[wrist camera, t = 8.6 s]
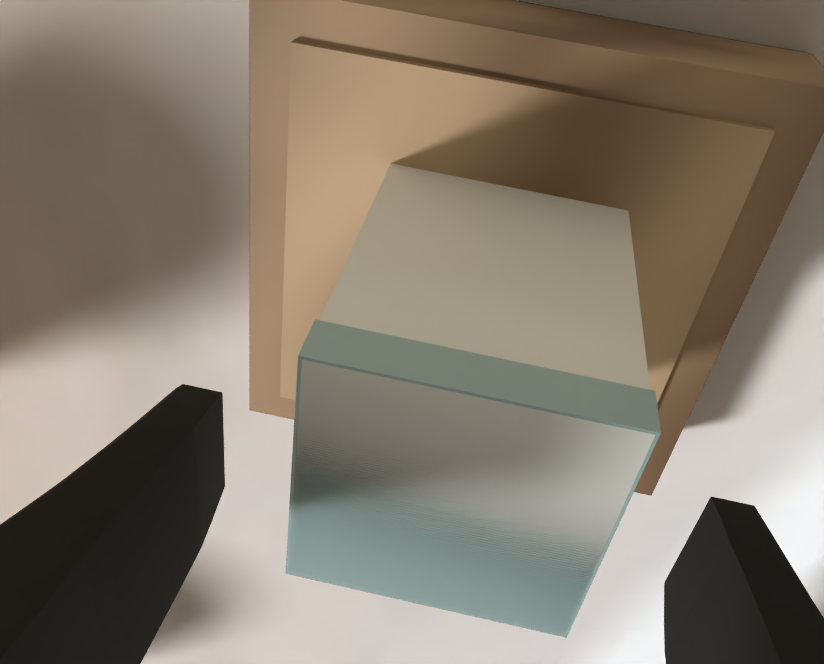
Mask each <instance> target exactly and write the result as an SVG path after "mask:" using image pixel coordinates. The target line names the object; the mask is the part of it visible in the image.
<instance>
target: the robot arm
mask: <svg viewBox="0 0 824 664" xmlns="http://www.w3.org/2000/svg"><path fill="white" fill-rule="evenodd" d="M224 487H225V475H224V437H223V400H222V392H217V391H212V390H208V389H203V388H198V387H194V386H189V385H184V384H182V385H181V386H179V387H177V388H176V389H175V390H173V391H172V392H171V393H170V394H169V395H167V396H166V397H165V398H164V399H163V400H162V401H160V402H159V403H158V404H157V405H156V406H154V407H153V408H152V409H151V410H150V411H149V412H147V413H146V414H145V415H144V416H143V417H141V418H140V419H139V420H138V421H137V422H135V423H134V424H133V425H132V426H131V427H129V428H128V429H127V430H126V431H125V432H123V433H122V434H121V435H120V436H118V437H117V438H116V439H115V440H114V441H112V442H111V443H110V444H109V445H107V446H106V447H105V448H104V449H102V450H101V451H100V452H98V453H97V454H96V455H95V456H93V457H92V458H91V459H89V460H88V461H87V462H86V463H84V464H83V465H82V466H80V467H79V468H78V469H77V470H75V471H74V472H73V473H72V474H70V475H69V476H68V477H66V478H65V479H64V480H62V481H61V482H60V483H58V484H57V485H56V486H54V487H53V488H51V489H50V490H49V491H47V492H46V493H44V494H43V495H42V496H40V497H39V498H37V499H36V500H35V501H33V502H32V503H30V504H29V505H28V506H26V507H25V508H23V509H22V510H20V511H19V512H18V513H16V514H15V515H13V516H12V517H11V518H9V519H8V520H6V521H5V522H3V523H2V524H0V664H140V663H141V661H142V660H143V658H144V656H145V654H146V652H147V650H148V648H149V646H150V644H151V643H152V641H153V639H154V637H155V635H156V633H157V631H158V629H159V627H160V626H161V624H162V622H163V620H164V618H165V616H166V614H167V612H168V610H169V609H170V607H171V605H172V603H173V601H174V599H175V597H176V595H177V593H178V591H179V590H180V588H181V586H182V584H183V582H184V580H185V578H186V576H187V574H188V572H189V570H190V568H191V567H192V565H193V563H194V561H195V559H196V557H197V555H198V553H199V551H200V549H201V547H202V544H203V542H204V539H205V537H206V534H207V532H208V529H209V527H210V524H211V522H212V519H213V516H214V514H215V511H216V508H217V506H218V503H219V500H220V498H221V495H222V492H223V490H224ZM664 635H665V658H666V664H824V618H823V616H822V615H821V613H820V611H819V610H818V608H817V607H816V605H815V604H814V602H813V600H812V599H811V597H810V596H809V594H808V592H807V591H806V589H805V587H804V586H803V584H802V583H801V581H800V579H799V578H798V576H797V575H796V573H795V571H794V570H793V568H792V566H791V565H790V563H789V562H788V560H787V558H786V557H785V555H784V553H783V552H782V550H781V548H780V547H779V545H778V544H777V542H776V540H775V539H774V537H773V535H772V534H771V532H770V531H769V529H768V527H767V526H766V524H765V522H764V521H763V519H762V518H761V516H760V514H759V513H758V511H757V509H756V508H755V506H753V505H748V504H743V503H739V502H734V501H729V500H725V499H720V498H715V497H711V498H710V499H709V501H708V503H707V505H706V507H705V509H704V511H703V512H702V514H701V516H700V518H699V520H698V522H697V524H696V525H695V527H694V529H693V531H692V533H691V535H690V536H689V538H688V540H687V542H686V544H685V546H684V548H683V549H682V551H681V553H680V555H679V557H678V559H677V561H676V562H675V564H674V566H673V568H672V570H671V572H670V573H669V575H668V577H667V579H666V581H665V583H664Z"/></svg>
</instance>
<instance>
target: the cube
mask: <svg viewBox="0 0 824 664" xmlns="http://www.w3.org/2000/svg"><path fill="white" fill-rule="evenodd" d="M660 434H661V430H660V422H659V415H658V407H657V399H656V391H653V390H650V385H649V377H648V368H647V360H646V352H645V343H644V335H643V327H642V318H641V310H640V302H639V294H638V285H637V277H636V269H635V260H634V252H633V244H632V235H631V227H630V219H629V211H628V210H623V209H618V208H613V207H608V206H603V205H598V204H593V203H588V202H583V201H578V200H573V199H568V198H563V197H558V196H553V195H548V194H543V193H538V192H532V191H527V190H522V189H517V188H512V187H507V186H502V185H497V184H492V183H487V182H482V181H477V180H472V179H467V178H462V177H457V176H452V175H447V174H442V173H437V172H432V171H427V170H422V169H417V168H412V167H407V166H402V165H397V164H391V163H390V165H389V168H388V170H387V172H386V174H385V177H384V179H383V181H382V183H381V185H380V188H379V190H378V192H377V194H376V196H375V199H374V201H373V203H372V205H371V208H370V210H369V212H368V214H367V216H366V219H365V221H364V223H363V225H362V227H361V230H360V232H359V234H358V236H357V239H356V241H355V243H354V245H353V247H352V250H351V252H350V254H349V256H348V258H347V261H346V263H345V265H344V267H343V270H342V272H341V274H340V276H339V278H338V281H337V283H336V285H335V287H334V289H333V292H332V294H331V296H330V298H329V300H328V303H327V305H326V307H325V309H324V312H323V314H322V316H321V318H320V320H316V319H315V320H314V322H313V325H312V327H311V329H310V331H309V333H308V335H307V338H306V340H305V342H304V344H303V346H302V348H301V351H300V353H299V355H298V367H297V385H296V402H295V419H294V437H293V454H292V472H291V489H290V507H289V524H288V541H287V559H286V574H290V575H294V576H299V577H303V578H307V579H312V580H316V581H321V582H325V583H329V584H334V585H338V586H343V587H347V588H351V589H356V590H360V591H364V592H369V593H373V594H378V595H382V596H386V597H391V598H395V599H400V600H404V601H408V602H413V603H417V604H421V605H426V606H430V607H435V608H439V609H443V610H448V611H452V612H457V613H461V614H465V615H470V616H474V617H478V618H483V619H487V620H492V621H496V622H500V623H505V624H509V625H513V626H518V627H522V628H527V629H531V630H535V631H540V632H544V633H549V634H553V635H557V636H562V637H566V638H567V635H568V633H569V631H570V629H571V627H572V625H573V622H574V620H575V618H576V616H577V614H578V611H579V609H580V607H581V605H582V603H583V601H584V598H585V596H586V594H587V592H588V590H589V588H590V585H591V583H592V581H593V579H594V577H595V575H596V572H597V570H598V568H599V566H600V564H601V562H602V559H603V557H604V555H605V553H606V551H607V549H608V546H609V544H610V542H611V540H612V538H613V536H614V533H615V531H616V529H617V527H618V525H619V523H620V520H621V518H622V516H623V514H624V512H625V510H626V507H627V505H628V503H629V501H630V499H631V497H632V494H633V492H634V490H635V488H636V486H637V484H638V481H639V479H640V477H641V475H642V473H643V471H644V468H645V466H646V464H647V462H648V460H649V458H650V455H651V453H652V451H653V449H654V447H655V445H656V442H657V440H658V438H659V436H660Z"/></svg>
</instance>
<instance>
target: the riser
mask: <svg viewBox="0 0 824 664" xmlns="http://www.w3.org/2000/svg"><path fill="white" fill-rule="evenodd" d="M823 132H824V67H823V66H822V65H821V64H820V62H819V61H818V60H817V59H816V57H815V56H814V55H813V54H810V53H804V52H798V51H793V50H787V49H782V48H776V47H770V46H765V45H759V44H754V43H748V42H742V41H737V40H731V39H726V38H720V37H714V36H709V35H703V34H698V33H692V32H686V31H681V30H675V29H670V28H664V27H659V26H653V25H647V24H642V23H636V22H631V21H625V20H619V19H614V18H608V17H603V16H597V15H591V14H586V13H580V12H575V11H569V10H563V9H558V8H552V7H547V6H541V5H535V4H530V3H524V2H519V1H513V0H250V410H251V411H256V412H261V413H265V414H270V415H275V416H280V417H284V418H289V419H295V402H296V385H297V367H298V355H299V353H300V351H301V348H302V346H303V344H304V342H305V340H306V338H307V335H308V333H309V331H310V329H311V327H312V325H313V322H314V320H315V319H316V320H320V318H321V316H322V314H323V312H324V309H325V307H326V305H327V303H328V300H329V298H330V296H331V294H332V292H333V289H334V287H335V285H336V283H337V281H338V278H339V276H340V274H341V272H342V270H343V267H344V265H345V263H346V261H347V258H348V256H349V254H350V252H351V250H352V247H353V245H354V243H355V241H356V239H357V236H358V234H359V232H360V230H361V227H362V225H363V223H364V221H365V219H366V216H367V214H368V212H369V210H370V208H371V205H372V203H373V201H374V199H375V196H376V194H377V192H378V190H379V188H380V185H381V183H382V181H383V179H384V177H385V174H386V172H387V170H388V168H389V165H390V163H391V164H397V165H402V166H407V167H412V168H417V169H422V170H427V171H432V172H437V173H442V174H447V175H452V176H457V177H462V178H467V179H472V180H477V181H482V182H487V183H492V184H497V185H502V186H507V187H512V188H517V189H522V190H527V191H532V192H538V193H543V194H548V195H553V196H558V197H563V198H568V199H573V200H578V201H583V202H588V203H593V204H598V205H603V206H608V207H613V208H618V209H623V210H628V211H629V219H630V227H631V235H632V244H633V252H634V260H635V269H636V277H637V285H638V294H639V302H640V310H641V318H642V327H643V335H644V343H645V352H646V360H647V368H648V377H649V385H650V390H653V391H656V399H657V407H658V415H659V422H660V430H661V434H660V436H659V438H658V440H657V442H656V445H655V447H654V449H653V451H652V453H651V455H650V458H649V460H648V462H647V464H646V466H645V468H644V471H643V473H642V475H641V477H640V479H639V481H638V484H637V486H636V488H635V490H634V492H637V493H642V494H647V495H652V493H653V491H654V489H655V487H656V485H657V482H658V480H659V478H660V476H661V474H662V472H663V470H664V468H665V466H666V463H667V461H668V459H669V457H670V455H671V453H672V451H673V449H674V447H675V444H676V442H677V440H678V438H679V436H680V434H681V432H682V430H683V428H684V425H685V423H686V421H687V419H688V417H689V415H690V413H691V411H692V409H693V406H694V404H695V402H696V400H697V398H698V396H699V394H700V392H701V390H702V387H703V385H704V383H705V381H706V379H707V377H708V375H709V373H710V370H711V368H712V366H713V364H714V362H715V360H716V358H717V356H718V354H719V351H720V349H721V347H722V345H723V343H724V341H725V339H726V337H727V335H728V332H729V330H730V328H731V326H732V324H733V322H734V320H735V318H736V316H737V313H738V311H739V309H740V307H741V305H742V303H743V301H744V299H745V297H746V294H747V292H748V290H749V288H750V286H751V284H752V282H753V280H754V278H755V275H756V273H757V271H758V269H759V267H760V265H761V263H762V261H763V258H764V256H765V254H766V252H767V250H768V248H769V246H770V244H771V242H772V239H773V237H774V235H775V233H776V231H777V229H778V227H779V225H780V223H781V220H782V218H783V216H784V214H785V212H786V210H787V208H788V206H789V204H790V201H791V199H792V197H793V195H794V193H795V191H796V189H797V187H798V185H799V182H800V180H801V178H802V176H803V174H804V172H805V170H806V168H807V166H808V163H809V161H810V159H811V157H812V155H813V153H814V151H815V149H816V146H817V144H818V142H819V140H820V138H821V136H822V134H823Z"/></svg>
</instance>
